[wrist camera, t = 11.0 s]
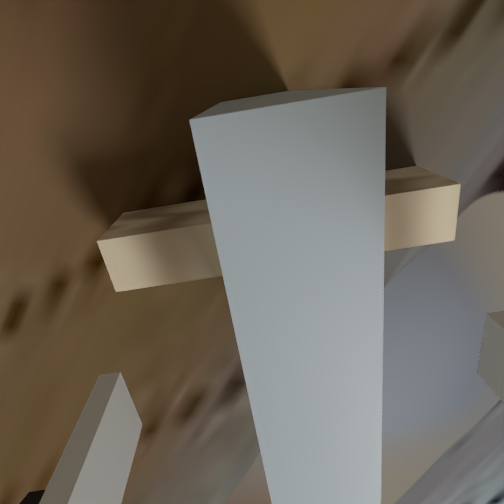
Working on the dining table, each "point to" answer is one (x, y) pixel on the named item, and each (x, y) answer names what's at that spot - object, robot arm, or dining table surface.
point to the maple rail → (204, 246)
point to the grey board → (305, 279)
